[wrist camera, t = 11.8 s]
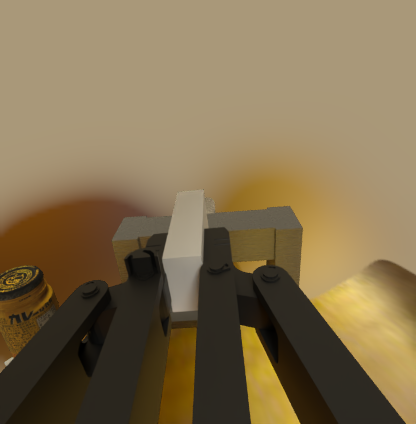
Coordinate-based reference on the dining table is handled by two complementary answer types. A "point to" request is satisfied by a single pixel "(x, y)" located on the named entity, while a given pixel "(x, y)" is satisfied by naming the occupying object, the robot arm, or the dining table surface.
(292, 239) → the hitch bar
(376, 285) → the dining table surface
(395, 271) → the dining table surface
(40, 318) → the condiment
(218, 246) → the robot arm
